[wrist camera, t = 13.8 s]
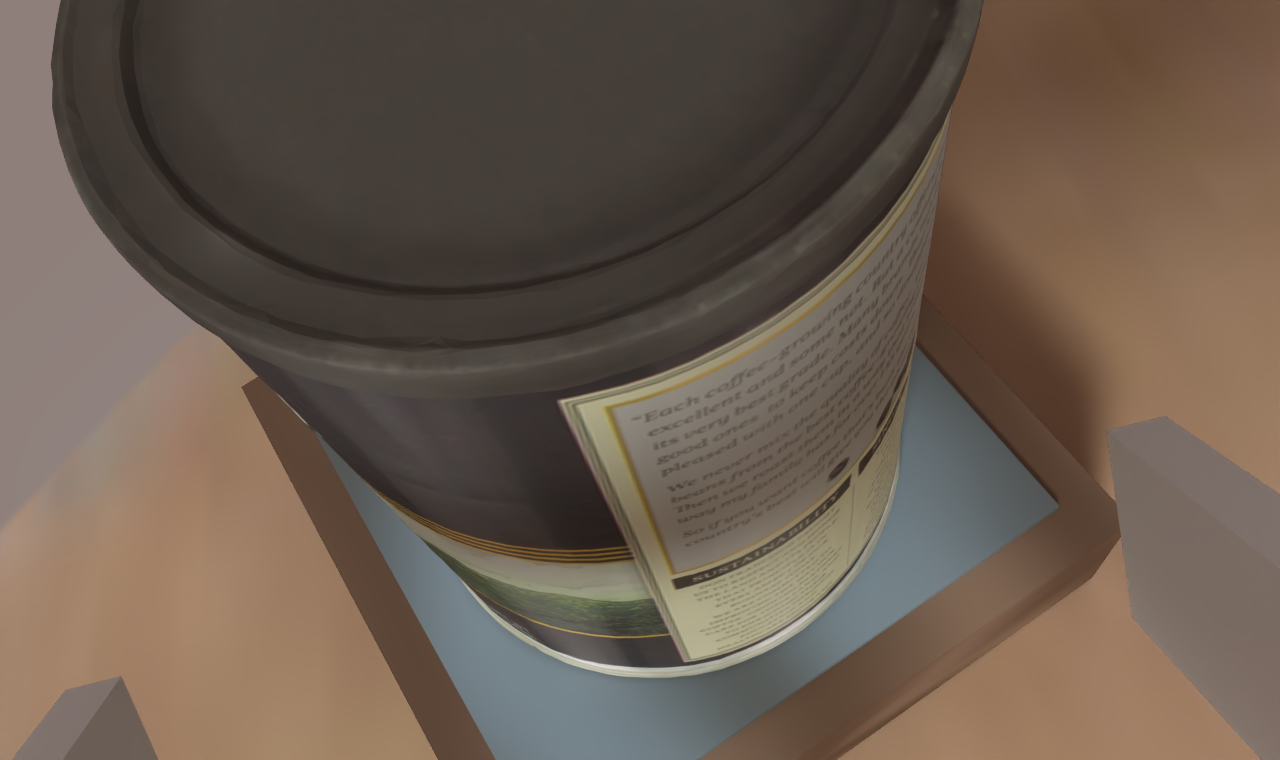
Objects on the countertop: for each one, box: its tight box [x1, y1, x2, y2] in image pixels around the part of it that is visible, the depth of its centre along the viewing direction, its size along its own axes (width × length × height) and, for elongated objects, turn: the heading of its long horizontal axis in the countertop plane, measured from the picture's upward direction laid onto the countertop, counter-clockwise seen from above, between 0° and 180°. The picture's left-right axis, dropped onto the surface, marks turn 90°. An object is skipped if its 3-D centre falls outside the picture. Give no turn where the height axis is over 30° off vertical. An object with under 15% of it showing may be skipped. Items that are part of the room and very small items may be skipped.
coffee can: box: [51, 0, 984, 678], centre depth 19 cm, size 10×10×14 cm
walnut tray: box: [242, 294, 1121, 760], centre depth 27 cm, size 14×14×4 cm
